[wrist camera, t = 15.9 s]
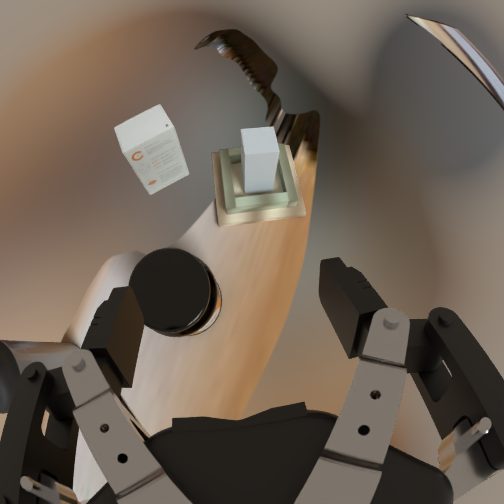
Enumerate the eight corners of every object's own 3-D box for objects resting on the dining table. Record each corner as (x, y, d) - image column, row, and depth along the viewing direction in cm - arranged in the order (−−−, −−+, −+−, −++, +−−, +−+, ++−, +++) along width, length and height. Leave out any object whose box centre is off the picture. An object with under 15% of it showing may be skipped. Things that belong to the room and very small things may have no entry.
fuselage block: (244, 194, 44) (244, 154, 34) (241, 171, 46) (240, 129, 35) (272, 191, 45) (279, 151, 34) (267, 168, 46) (273, 126, 35)
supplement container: (228, 331, 40) (221, 331, 28) (159, 339, 39) (128, 341, 27) (217, 262, 42) (207, 235, 31) (152, 272, 42) (121, 250, 30)
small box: (176, 151, 48) (160, 102, 35) (190, 174, 47) (175, 126, 34) (138, 171, 47) (112, 127, 34) (149, 196, 45) (122, 154, 33)
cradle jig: (219, 227, 44) (217, 218, 41) (211, 155, 48) (209, 144, 44) (305, 216, 45) (309, 207, 41) (288, 148, 49) (290, 136, 45)
